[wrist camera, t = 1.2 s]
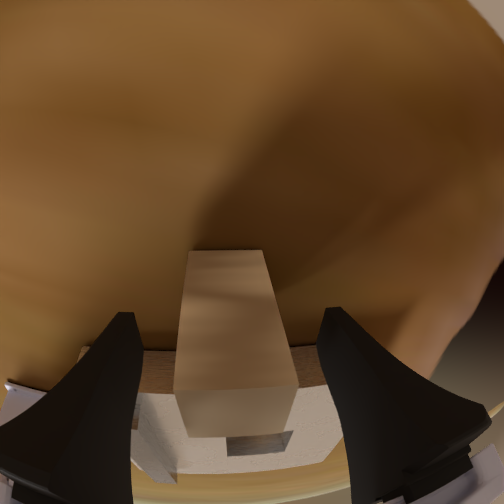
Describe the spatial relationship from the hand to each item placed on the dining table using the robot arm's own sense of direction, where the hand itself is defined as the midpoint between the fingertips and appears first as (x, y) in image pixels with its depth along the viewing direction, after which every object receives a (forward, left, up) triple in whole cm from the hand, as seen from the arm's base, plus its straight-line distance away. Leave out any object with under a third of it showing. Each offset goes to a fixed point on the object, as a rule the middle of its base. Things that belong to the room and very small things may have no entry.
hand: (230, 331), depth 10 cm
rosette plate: (0, -13, -3) cm, 14 cm away
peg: (0, 0, -3) cm, 3 cm away
